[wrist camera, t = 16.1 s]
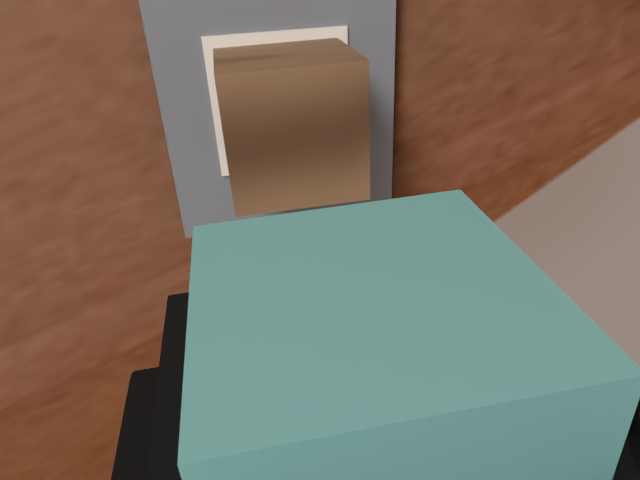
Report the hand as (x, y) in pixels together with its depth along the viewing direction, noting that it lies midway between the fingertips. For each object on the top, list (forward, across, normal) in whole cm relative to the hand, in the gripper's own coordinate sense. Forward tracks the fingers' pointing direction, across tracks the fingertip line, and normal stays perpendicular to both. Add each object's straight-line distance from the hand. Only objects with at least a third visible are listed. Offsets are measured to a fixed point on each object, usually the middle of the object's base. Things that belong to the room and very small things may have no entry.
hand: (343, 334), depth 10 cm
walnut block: (+19, -1, 0) cm, 19 cm away
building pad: (+20, -1, 0) cm, 20 cm away
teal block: (+1, 0, 0) cm, 1 cm away
